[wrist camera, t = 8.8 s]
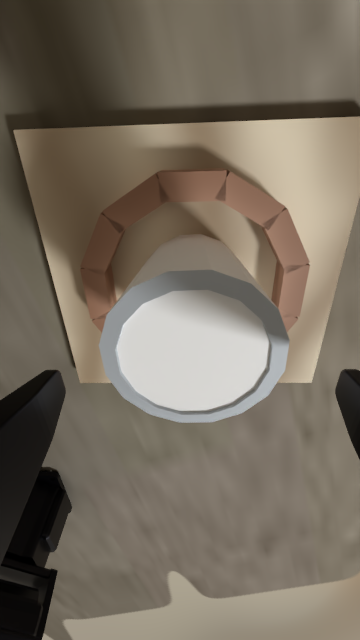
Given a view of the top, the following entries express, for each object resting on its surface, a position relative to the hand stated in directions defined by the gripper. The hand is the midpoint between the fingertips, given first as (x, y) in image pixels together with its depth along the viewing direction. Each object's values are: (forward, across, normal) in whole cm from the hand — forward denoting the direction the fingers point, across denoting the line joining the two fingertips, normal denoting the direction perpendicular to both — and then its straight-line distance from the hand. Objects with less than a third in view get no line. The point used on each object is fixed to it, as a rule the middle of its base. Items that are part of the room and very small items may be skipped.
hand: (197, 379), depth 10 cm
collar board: (+9, 0, 0) cm, 9 cm away
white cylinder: (+8, 0, 0) cm, 8 cm away
